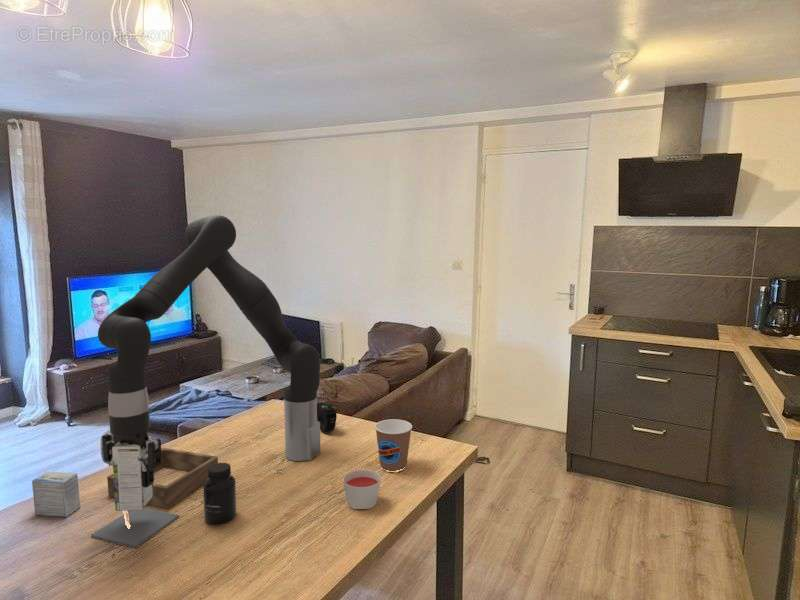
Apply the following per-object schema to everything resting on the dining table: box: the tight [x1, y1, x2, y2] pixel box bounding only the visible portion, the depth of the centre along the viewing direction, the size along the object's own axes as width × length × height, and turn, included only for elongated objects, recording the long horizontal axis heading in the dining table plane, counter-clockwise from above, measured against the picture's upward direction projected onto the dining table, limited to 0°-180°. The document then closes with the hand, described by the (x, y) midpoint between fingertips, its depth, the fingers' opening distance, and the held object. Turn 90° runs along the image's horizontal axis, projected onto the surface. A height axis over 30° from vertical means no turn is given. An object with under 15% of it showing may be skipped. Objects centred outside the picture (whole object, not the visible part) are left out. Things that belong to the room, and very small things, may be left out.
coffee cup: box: [374, 418, 413, 471], centre depth 137 cm, size 10×10×12 cm
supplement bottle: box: [203, 462, 237, 526], centre depth 112 cm, size 7×7×12 cm
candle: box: [342, 468, 382, 510], centre depth 118 cm, size 9×9×6 cm
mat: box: [90, 507, 180, 549], centre depth 108 cm, size 12×12×1 cm
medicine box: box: [31, 471, 81, 518], centre depth 114 cm, size 8×4×9 cm, turn 84°
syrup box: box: [111, 435, 153, 512], centre depth 107 cm, size 6×6×14 cm
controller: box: [317, 402, 338, 433], centre depth 163 cm, size 4×12×10 cm, turn 32°
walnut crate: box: [106, 447, 219, 510], centre depth 127 cm, size 18×18×5 cm
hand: (133, 482), depth 107 cm, fingers closed on syrup box, 7 cm apart
